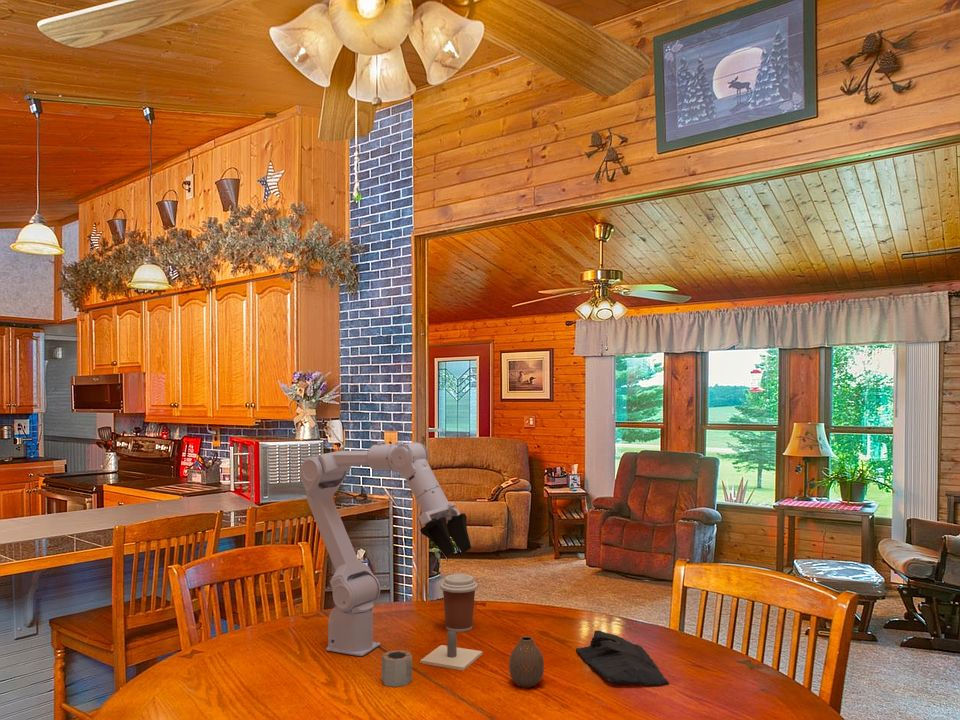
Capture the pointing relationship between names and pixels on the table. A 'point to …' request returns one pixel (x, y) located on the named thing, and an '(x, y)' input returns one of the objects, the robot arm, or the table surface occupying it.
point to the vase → (526, 663)
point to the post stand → (451, 655)
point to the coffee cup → (459, 601)
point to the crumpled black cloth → (621, 661)
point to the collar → (396, 668)
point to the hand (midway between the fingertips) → (459, 552)
